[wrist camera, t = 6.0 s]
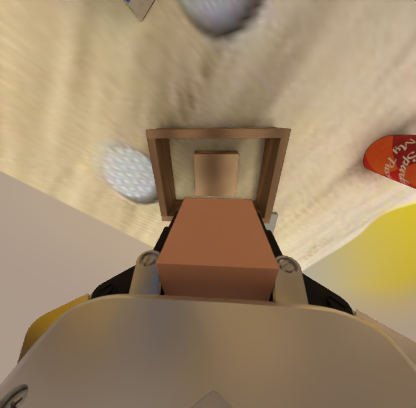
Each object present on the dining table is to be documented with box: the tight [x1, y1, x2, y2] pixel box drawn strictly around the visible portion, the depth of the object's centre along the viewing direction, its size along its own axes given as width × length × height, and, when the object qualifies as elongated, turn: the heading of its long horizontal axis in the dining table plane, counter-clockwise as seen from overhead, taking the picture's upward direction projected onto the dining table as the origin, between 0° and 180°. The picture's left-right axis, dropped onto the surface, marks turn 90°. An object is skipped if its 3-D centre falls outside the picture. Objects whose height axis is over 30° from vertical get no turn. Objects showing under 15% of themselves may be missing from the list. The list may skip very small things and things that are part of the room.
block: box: [156, 198, 279, 301], centre depth 10 cm, size 5×5×6 cm
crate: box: [146, 127, 291, 224], centre depth 25 cm, size 18×14×6 cm
